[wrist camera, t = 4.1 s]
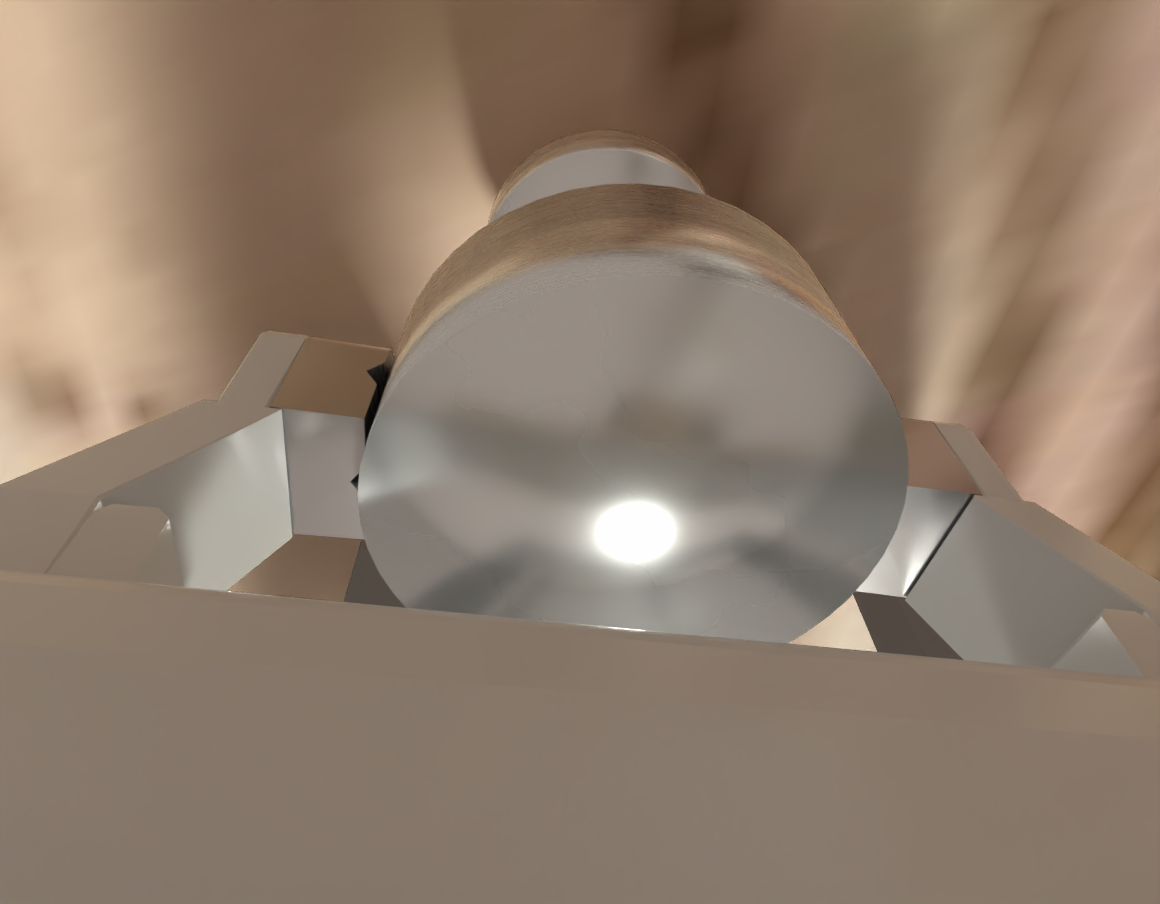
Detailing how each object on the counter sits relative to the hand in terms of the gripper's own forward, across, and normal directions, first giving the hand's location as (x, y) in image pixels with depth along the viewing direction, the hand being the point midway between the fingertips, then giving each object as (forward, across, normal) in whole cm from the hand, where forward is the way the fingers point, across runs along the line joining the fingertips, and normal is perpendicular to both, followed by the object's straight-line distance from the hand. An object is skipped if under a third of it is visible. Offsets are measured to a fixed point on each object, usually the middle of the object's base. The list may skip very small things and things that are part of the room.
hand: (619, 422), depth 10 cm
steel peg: (+6, 0, 0) cm, 6 cm away
